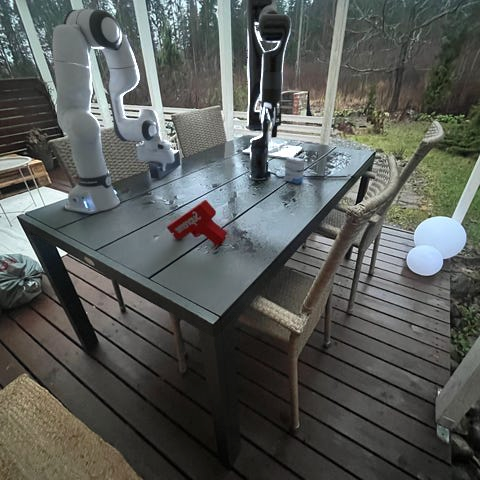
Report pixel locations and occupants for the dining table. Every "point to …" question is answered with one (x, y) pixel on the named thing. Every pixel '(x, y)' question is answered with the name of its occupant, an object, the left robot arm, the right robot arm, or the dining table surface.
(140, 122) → the left robot arm
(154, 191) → the dining table surface
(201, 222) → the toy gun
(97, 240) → the dining table surface
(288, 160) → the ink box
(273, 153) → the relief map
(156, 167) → the bar
